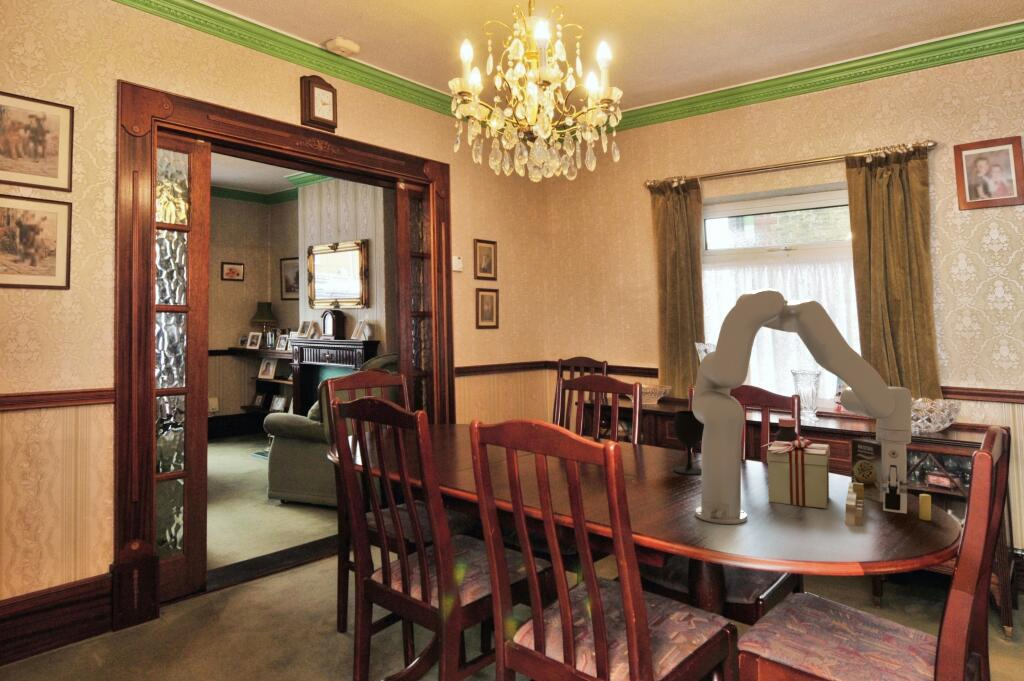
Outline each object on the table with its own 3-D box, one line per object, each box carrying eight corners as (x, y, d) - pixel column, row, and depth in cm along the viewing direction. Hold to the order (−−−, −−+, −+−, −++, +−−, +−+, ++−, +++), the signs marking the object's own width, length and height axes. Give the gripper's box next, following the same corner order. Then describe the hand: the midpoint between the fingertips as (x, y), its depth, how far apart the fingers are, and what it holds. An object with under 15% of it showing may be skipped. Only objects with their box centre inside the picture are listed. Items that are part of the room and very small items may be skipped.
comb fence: (861, 526, 146) (862, 497, 146) (845, 524, 148) (845, 495, 147) (863, 502, 166) (864, 476, 166) (849, 500, 168) (849, 475, 168)
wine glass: (679, 466, 209) (679, 409, 209) (709, 470, 203) (709, 411, 203) (668, 472, 201) (668, 412, 201) (699, 476, 195) (699, 415, 194)
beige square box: (907, 513, 150) (907, 489, 149) (882, 510, 152) (883, 487, 152) (906, 509, 153) (906, 486, 153) (882, 506, 156) (883, 483, 156)
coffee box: (850, 494, 174) (850, 439, 174) (865, 491, 177) (865, 437, 176) (880, 502, 166) (880, 444, 165) (895, 500, 168) (896, 442, 168)
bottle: (794, 480, 190) (794, 417, 190) (802, 485, 184) (802, 420, 183) (771, 479, 191) (772, 417, 191) (779, 485, 184) (779, 420, 184)
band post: (931, 520, 150) (931, 497, 150) (919, 519, 151) (919, 495, 151) (930, 518, 152) (930, 494, 152) (919, 516, 153) (919, 493, 153)
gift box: (760, 488, 181) (760, 431, 180) (829, 495, 173) (829, 436, 172) (756, 503, 165) (756, 441, 165) (831, 512, 157) (832, 446, 157)
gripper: (912, 442, 143) (911, 518, 144) (909, 431, 158) (908, 501, 158) (875, 439, 147) (874, 513, 148) (876, 429, 162) (875, 496, 162)
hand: (892, 506), depth 153 cm, fingers closed on beige square box, 4 cm apart
